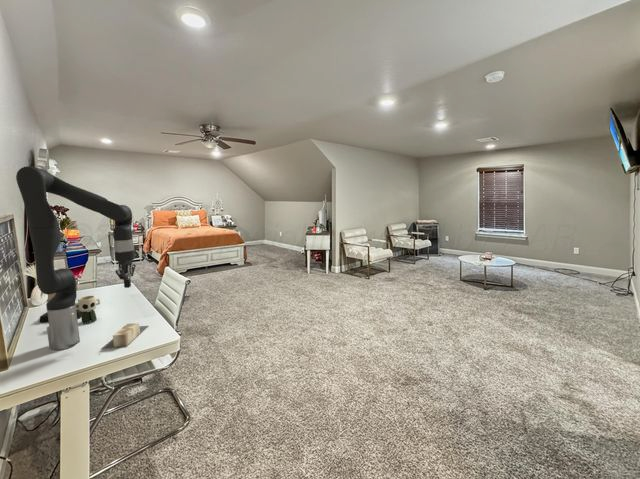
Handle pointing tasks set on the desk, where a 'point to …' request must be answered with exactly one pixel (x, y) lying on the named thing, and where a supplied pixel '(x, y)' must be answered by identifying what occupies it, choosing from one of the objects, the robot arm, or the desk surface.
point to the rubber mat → (111, 345)
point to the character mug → (87, 308)
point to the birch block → (126, 334)
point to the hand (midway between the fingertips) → (127, 287)
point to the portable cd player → (45, 316)
